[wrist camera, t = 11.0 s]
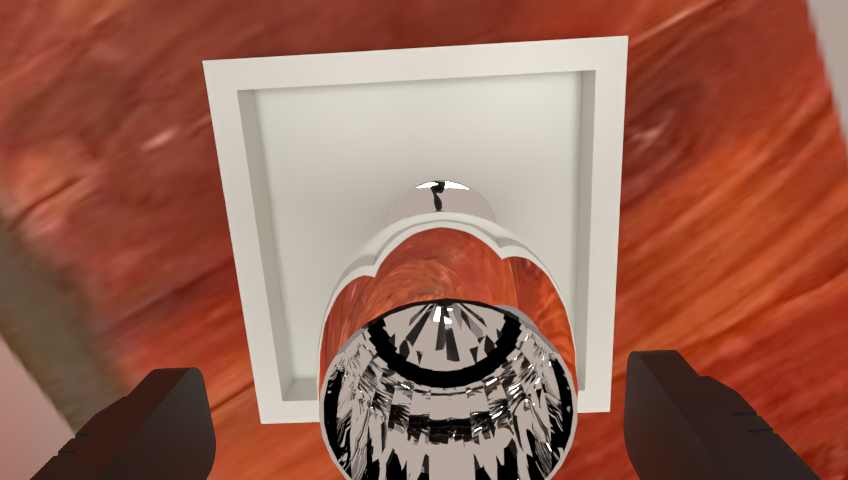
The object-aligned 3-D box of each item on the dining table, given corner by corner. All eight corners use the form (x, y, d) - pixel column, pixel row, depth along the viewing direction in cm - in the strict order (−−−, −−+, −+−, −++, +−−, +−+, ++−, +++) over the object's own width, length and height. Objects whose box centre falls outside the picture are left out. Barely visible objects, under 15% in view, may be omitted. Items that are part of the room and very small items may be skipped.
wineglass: (496, 144, 20) (578, 228, 9) (528, 284, 22) (633, 514, 10) (349, 183, 21) (240, 311, 9) (390, 316, 22) (342, 570, 11)
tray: (230, 63, 20) (202, 60, 18) (604, 41, 20) (628, 35, 17) (278, 390, 24) (261, 423, 22) (592, 378, 24) (609, 411, 21)
